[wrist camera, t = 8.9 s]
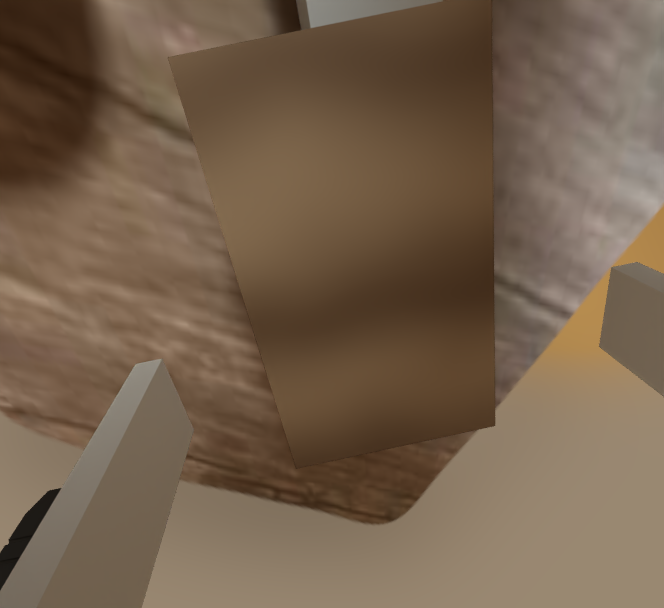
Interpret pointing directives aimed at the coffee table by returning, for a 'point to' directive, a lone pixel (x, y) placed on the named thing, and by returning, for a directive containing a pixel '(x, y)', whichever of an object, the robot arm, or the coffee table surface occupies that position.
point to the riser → (348, 10)
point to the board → (359, 219)
